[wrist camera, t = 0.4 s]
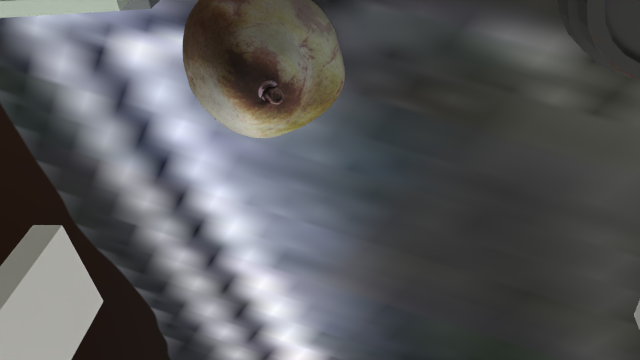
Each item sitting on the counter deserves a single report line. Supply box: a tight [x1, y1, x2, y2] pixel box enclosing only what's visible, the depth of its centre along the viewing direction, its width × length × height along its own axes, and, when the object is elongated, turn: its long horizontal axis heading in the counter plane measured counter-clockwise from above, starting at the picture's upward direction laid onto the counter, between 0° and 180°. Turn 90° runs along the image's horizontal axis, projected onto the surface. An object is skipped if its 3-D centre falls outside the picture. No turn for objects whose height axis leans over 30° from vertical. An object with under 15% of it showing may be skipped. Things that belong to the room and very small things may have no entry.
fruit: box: [183, 0, 345, 138], centre depth 33 cm, size 10×9×12 cm
